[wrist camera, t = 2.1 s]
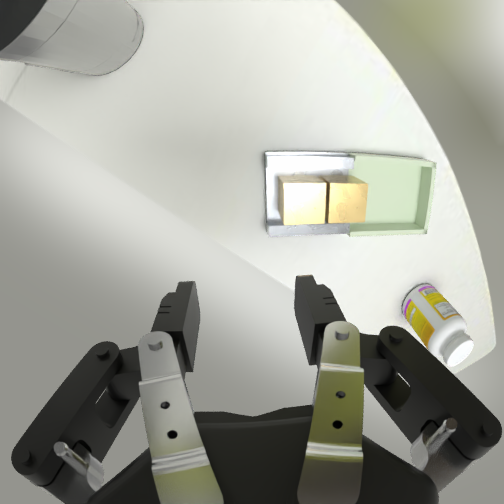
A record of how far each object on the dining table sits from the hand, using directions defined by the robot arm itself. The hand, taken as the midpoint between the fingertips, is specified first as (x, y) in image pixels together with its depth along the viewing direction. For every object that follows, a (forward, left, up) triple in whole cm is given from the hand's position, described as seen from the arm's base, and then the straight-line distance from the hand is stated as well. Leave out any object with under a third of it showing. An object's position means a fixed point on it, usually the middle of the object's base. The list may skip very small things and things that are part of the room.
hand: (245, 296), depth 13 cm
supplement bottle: (+27, -17, -20) cm, 37 cm away
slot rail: (+7, 0, -19) cm, 21 cm away
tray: (+17, 0, -19) cm, 26 cm away
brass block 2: (+10, 0, -18) cm, 21 cm away
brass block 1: (+6, 0, -18) cm, 19 cm away
